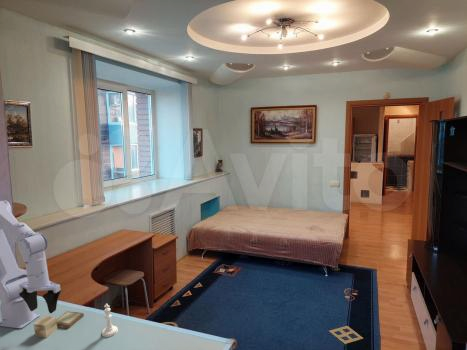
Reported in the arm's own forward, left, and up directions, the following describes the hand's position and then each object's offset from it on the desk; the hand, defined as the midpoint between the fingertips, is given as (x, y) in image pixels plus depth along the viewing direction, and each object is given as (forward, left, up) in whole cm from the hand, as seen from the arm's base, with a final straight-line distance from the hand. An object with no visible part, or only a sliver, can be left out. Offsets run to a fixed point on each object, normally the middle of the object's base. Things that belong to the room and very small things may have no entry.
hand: (43, 310), depth 105 cm
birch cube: (0, 0, -8) cm, 8 cm away
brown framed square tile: (+2, +7, -8) cm, 11 cm away
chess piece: (+21, +4, -8) cm, 23 cm away
